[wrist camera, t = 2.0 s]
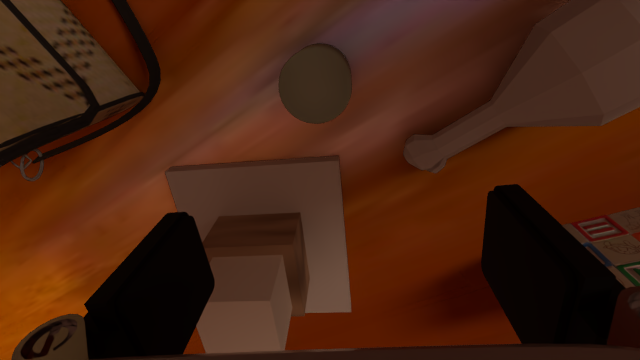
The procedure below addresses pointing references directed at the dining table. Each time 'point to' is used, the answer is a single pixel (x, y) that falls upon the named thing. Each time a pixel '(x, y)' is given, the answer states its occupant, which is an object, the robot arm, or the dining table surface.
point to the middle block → (246, 305)
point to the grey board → (278, 211)
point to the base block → (265, 246)
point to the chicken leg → (553, 80)
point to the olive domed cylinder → (316, 83)
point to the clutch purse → (60, 79)
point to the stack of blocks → (613, 243)
